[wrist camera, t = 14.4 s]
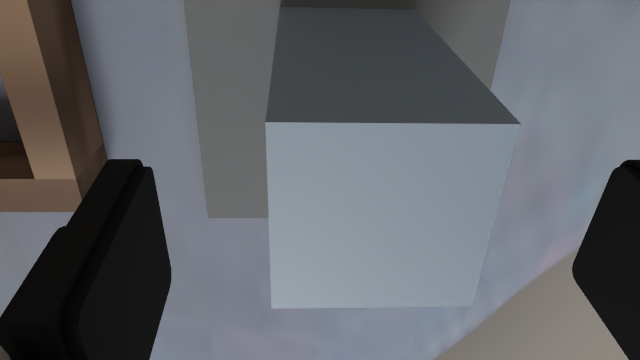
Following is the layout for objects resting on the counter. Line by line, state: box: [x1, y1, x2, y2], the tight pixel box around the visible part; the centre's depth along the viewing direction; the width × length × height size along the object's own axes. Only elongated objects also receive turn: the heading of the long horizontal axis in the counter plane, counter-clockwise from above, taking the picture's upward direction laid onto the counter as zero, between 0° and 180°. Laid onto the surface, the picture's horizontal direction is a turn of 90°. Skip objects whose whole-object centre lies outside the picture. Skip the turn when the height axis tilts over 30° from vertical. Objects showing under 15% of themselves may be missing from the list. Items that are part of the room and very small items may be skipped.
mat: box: [184, 0, 510, 218], centre depth 19 cm, size 14×12×1 cm
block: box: [265, 7, 521, 309], centre depth 15 cm, size 5×5×10 cm
